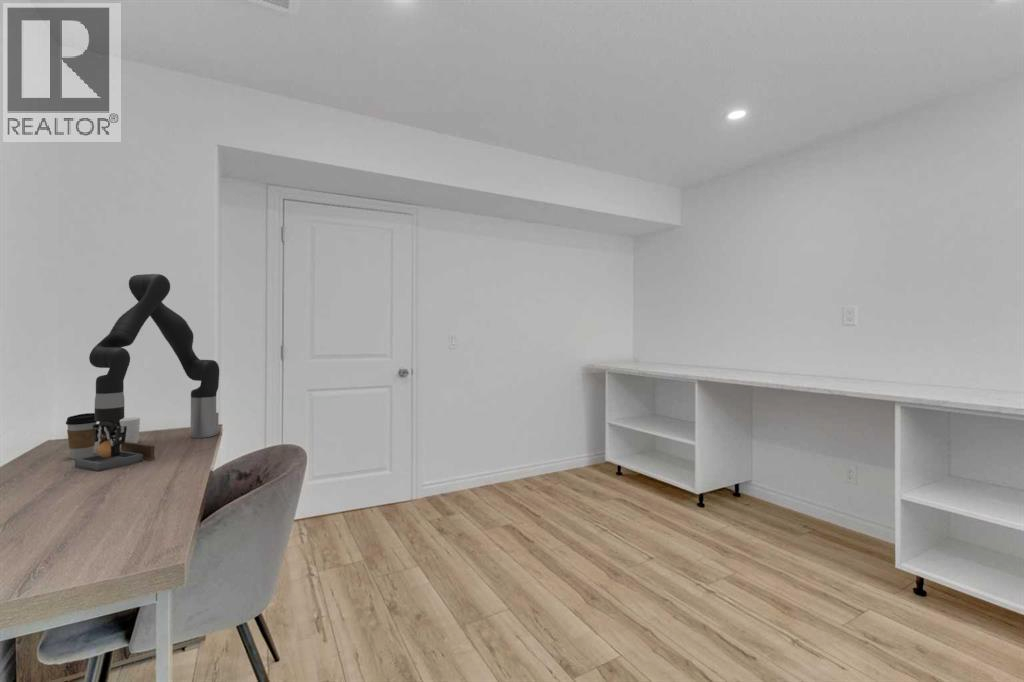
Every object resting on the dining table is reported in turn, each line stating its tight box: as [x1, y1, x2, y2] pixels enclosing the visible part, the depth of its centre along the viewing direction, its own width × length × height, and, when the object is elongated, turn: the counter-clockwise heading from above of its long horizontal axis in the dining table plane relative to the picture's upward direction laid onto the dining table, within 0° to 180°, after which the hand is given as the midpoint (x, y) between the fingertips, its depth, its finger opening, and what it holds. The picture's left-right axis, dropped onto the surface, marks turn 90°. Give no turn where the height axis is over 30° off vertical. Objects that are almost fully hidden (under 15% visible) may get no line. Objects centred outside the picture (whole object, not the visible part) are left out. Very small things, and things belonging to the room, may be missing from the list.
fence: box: [121, 441, 156, 461], centre depth 159 cm, size 1×16×5 cm, turn 71°
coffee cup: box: [65, 412, 99, 460], centre depth 159 cm, size 8×8×15 cm
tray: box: [74, 451, 143, 472], centre depth 151 cm, size 13×13×2 cm
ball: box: [96, 439, 121, 458], centre depth 151 cm, size 6×6×6 cm
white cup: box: [120, 416, 141, 443], centre depth 178 cm, size 8×8×10 cm
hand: (109, 455), depth 151 cm, fingers closed on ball, 5 cm apart
